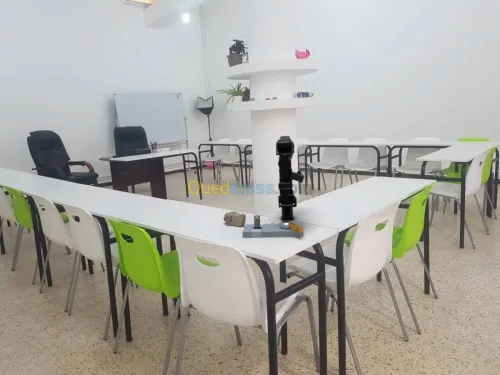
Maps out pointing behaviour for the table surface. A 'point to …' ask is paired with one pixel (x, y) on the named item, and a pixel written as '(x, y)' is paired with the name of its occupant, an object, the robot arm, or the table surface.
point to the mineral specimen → (235, 218)
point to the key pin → (257, 222)
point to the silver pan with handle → (290, 226)
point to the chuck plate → (269, 231)
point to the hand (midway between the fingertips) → (286, 200)
